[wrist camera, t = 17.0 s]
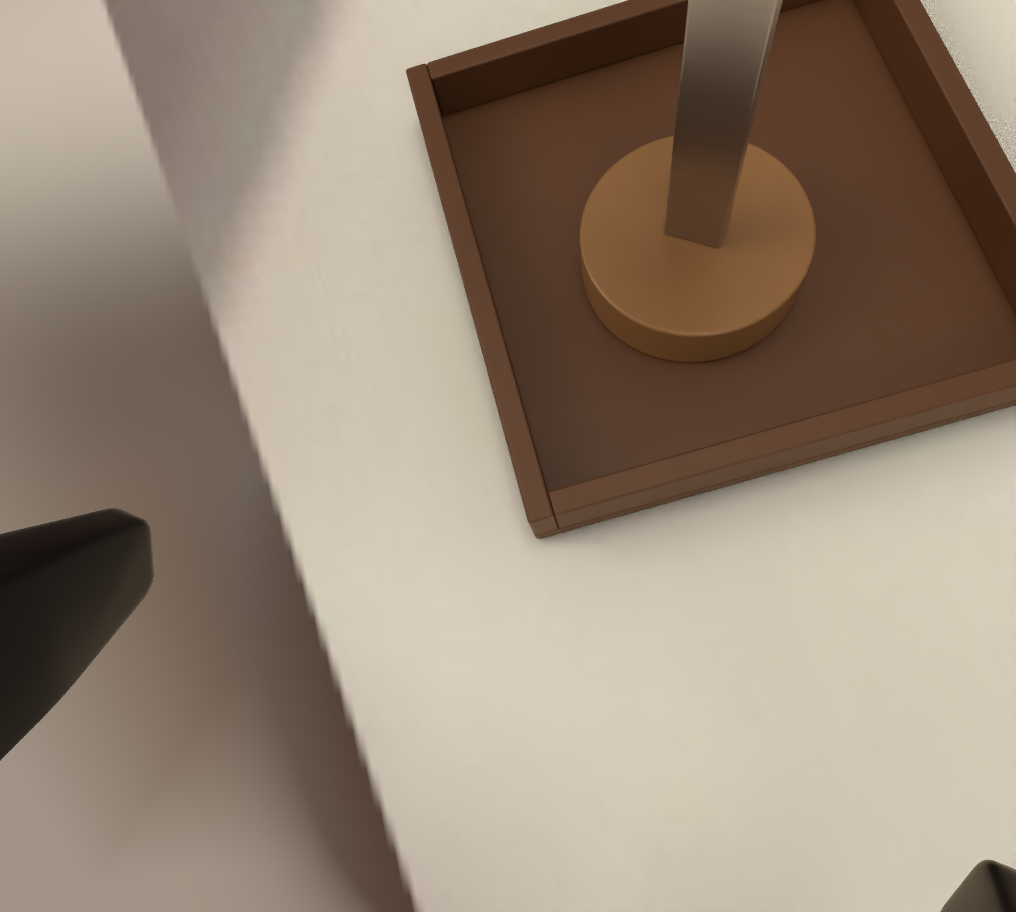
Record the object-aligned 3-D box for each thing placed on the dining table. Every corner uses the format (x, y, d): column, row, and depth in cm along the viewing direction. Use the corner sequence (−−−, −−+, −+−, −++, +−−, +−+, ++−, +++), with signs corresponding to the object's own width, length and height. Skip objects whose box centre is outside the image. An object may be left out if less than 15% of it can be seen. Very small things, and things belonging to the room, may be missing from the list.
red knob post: (765, 391, 19) (1245, -579, 5) (551, 327, 21) (391, -603, 6) (828, 200, 21) (1361, -1042, 6) (622, 150, 22) (638, -980, 7)
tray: (536, 540, 20) (528, 522, 18) (421, 118, 24) (405, 68, 22) (1068, 390, 19) (1118, 356, 17) (856, -16, 23) (877, -79, 21)
